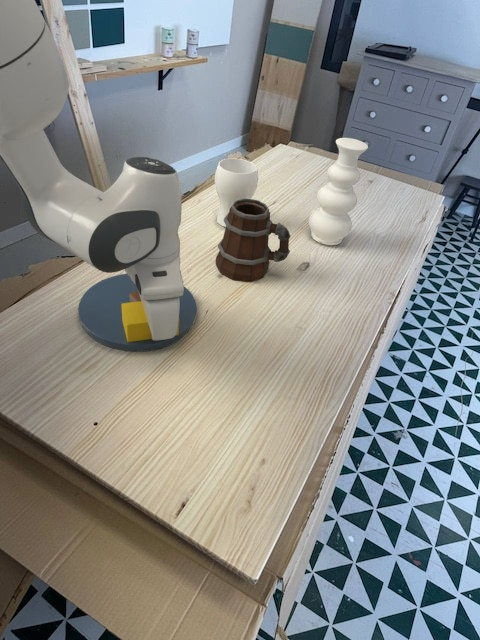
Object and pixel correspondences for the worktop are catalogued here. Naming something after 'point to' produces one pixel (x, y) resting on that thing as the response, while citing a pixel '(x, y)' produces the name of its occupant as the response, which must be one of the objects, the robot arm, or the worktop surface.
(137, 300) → the brown box
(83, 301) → the plate
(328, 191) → the vase
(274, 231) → the mug
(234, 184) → the cup
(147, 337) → the yellow block
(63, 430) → the worktop surface
